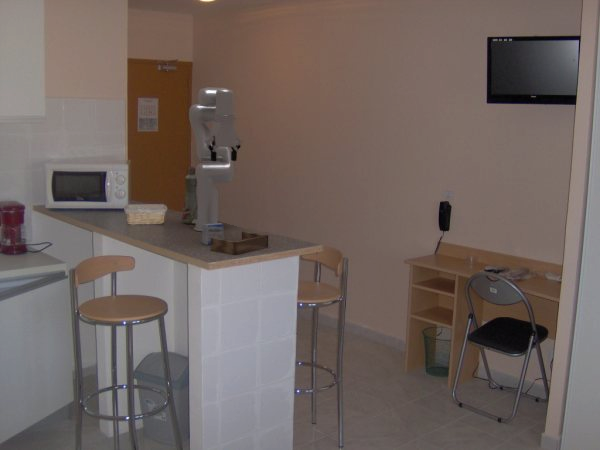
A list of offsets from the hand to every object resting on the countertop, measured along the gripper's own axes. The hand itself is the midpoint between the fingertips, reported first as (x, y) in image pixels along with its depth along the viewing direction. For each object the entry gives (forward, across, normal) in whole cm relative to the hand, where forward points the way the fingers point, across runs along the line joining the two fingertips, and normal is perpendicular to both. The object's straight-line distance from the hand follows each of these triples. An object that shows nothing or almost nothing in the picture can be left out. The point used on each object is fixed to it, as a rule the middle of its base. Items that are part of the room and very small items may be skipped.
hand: (223, 160), depth 300 cm
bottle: (+35, -12, -50) cm, 62 cm away
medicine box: (+35, +5, 0) cm, 36 cm away
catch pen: (+35, 0, +13) cm, 37 cm away
